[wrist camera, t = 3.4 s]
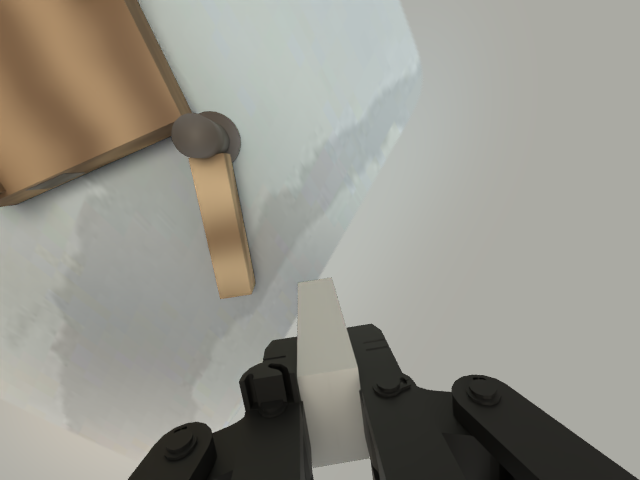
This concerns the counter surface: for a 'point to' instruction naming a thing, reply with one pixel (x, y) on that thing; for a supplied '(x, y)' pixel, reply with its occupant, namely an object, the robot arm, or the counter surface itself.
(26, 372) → the counter surface
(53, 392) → the counter surface
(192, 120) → the hinged leg
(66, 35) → the stool top
